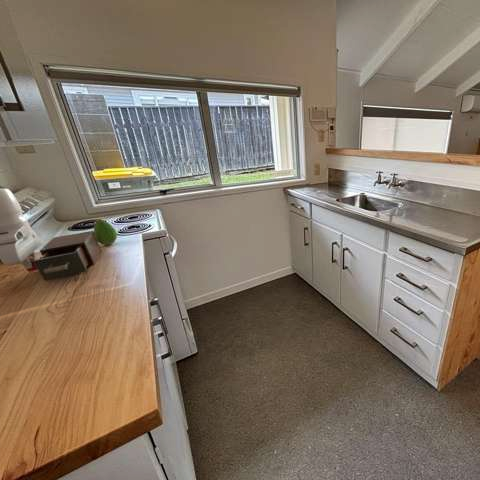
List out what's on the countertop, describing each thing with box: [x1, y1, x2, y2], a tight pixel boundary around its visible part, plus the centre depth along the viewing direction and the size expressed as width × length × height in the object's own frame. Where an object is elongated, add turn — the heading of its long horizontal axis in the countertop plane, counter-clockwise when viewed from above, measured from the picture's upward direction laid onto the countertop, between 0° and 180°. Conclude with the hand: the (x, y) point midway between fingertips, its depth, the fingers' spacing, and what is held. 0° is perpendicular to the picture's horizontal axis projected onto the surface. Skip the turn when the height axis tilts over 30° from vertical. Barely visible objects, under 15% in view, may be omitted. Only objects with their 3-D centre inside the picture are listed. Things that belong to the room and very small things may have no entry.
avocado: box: [93, 219, 118, 246], centre depth 117 cm, size 8×8×12 cm
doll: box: [26, 256, 39, 273], centre depth 95 cm, size 3×2×6 cm
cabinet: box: [39, 230, 103, 267], centre depth 101 cm, size 15×13×10 cm
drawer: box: [34, 245, 90, 282], centre depth 93 cm, size 18×11×8 cm, turn 29°
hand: (31, 266), depth 96 cm, fingers closed on doll, 2 cm apart
